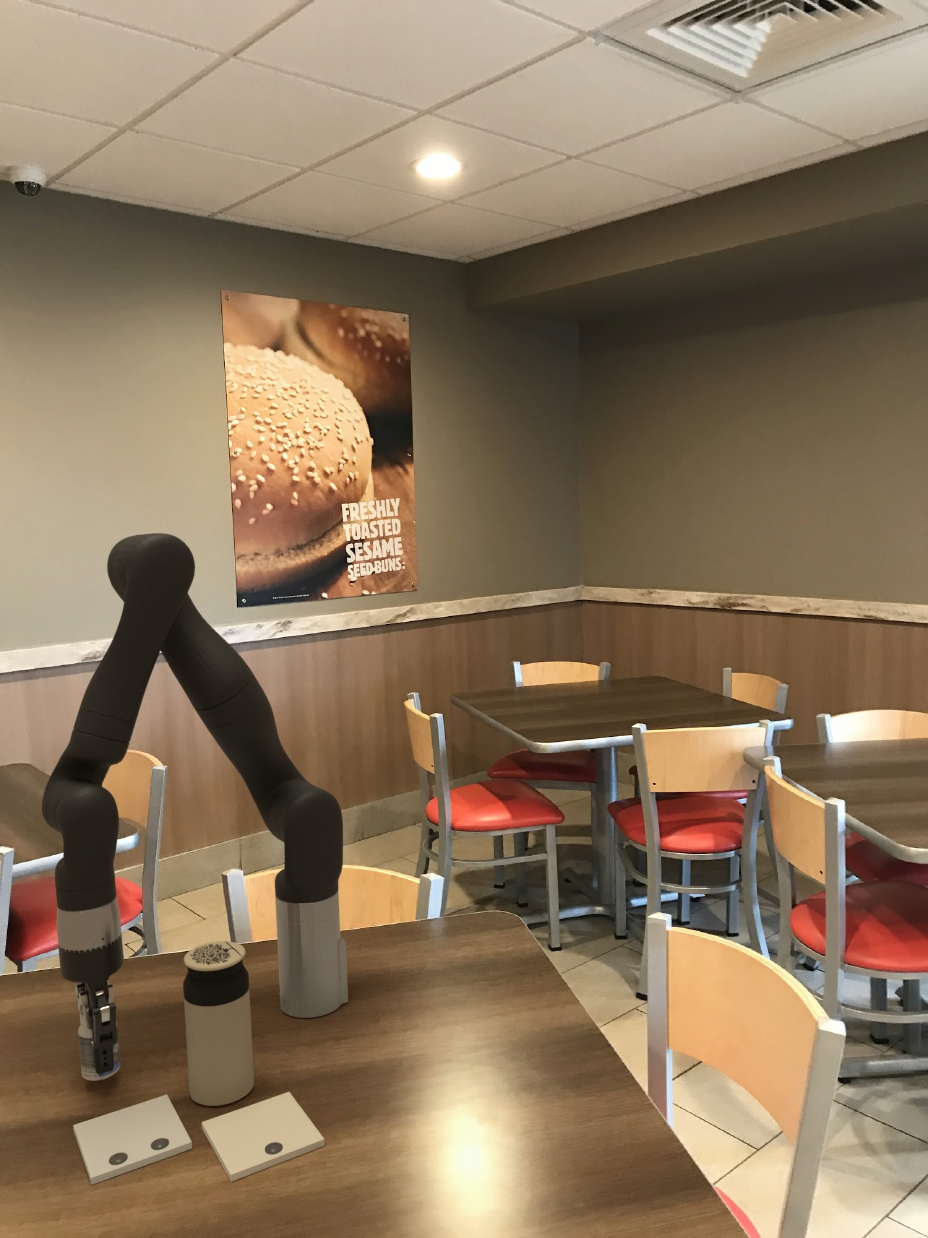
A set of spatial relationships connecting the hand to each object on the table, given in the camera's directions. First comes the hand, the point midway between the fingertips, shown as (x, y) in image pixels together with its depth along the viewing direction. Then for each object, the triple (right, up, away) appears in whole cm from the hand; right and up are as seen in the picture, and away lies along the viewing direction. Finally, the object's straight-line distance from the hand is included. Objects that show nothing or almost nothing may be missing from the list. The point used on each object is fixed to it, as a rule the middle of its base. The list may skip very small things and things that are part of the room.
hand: (100, 1060), depth 124 cm
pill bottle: (0, -2, 0) cm, 2 cm away
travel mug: (+16, -3, -2) cm, 16 cm away
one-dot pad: (+23, -4, -11) cm, 26 cm away
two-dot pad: (+8, -4, -11) cm, 14 cm away
